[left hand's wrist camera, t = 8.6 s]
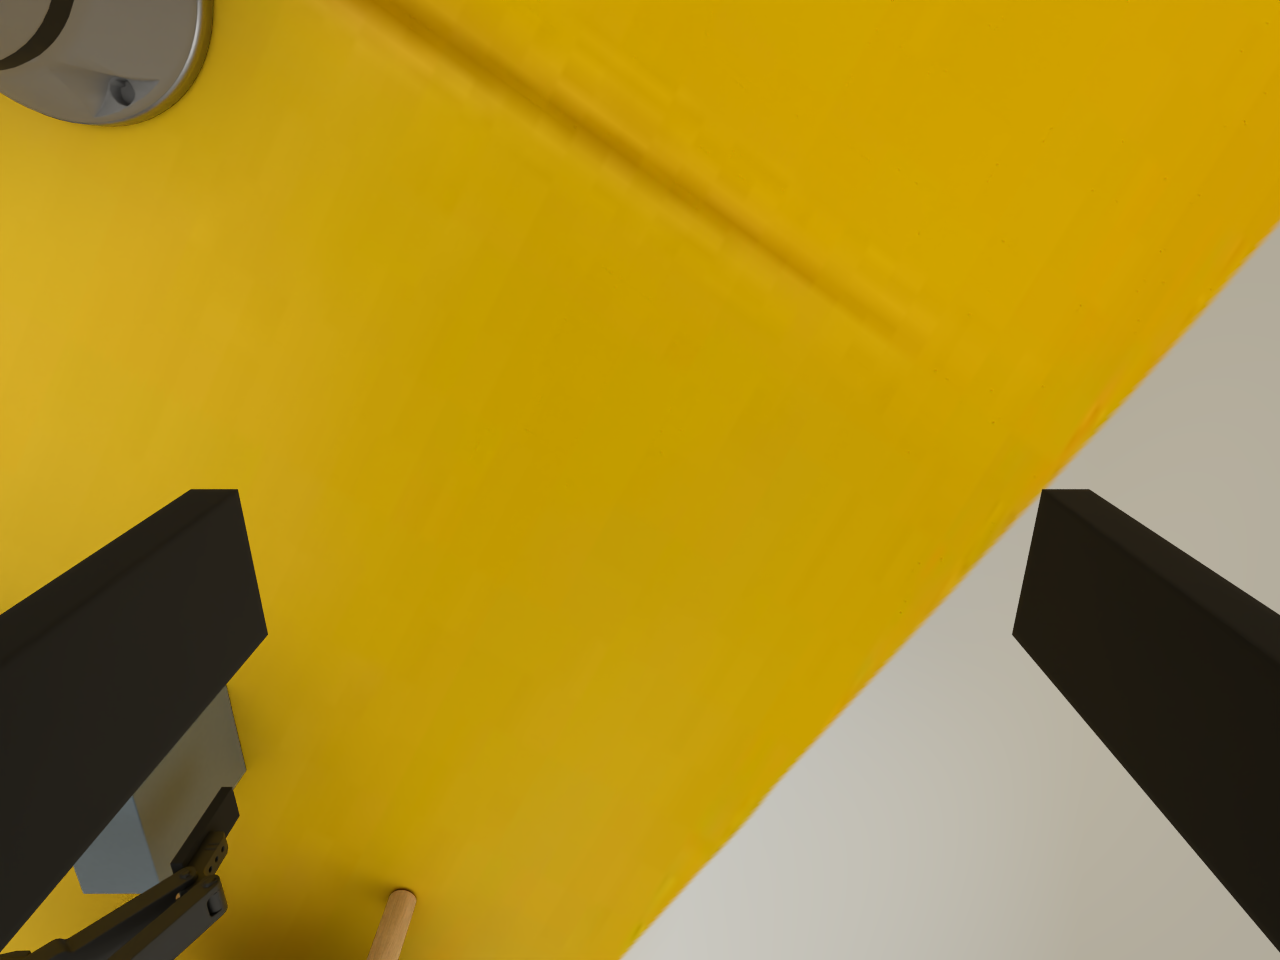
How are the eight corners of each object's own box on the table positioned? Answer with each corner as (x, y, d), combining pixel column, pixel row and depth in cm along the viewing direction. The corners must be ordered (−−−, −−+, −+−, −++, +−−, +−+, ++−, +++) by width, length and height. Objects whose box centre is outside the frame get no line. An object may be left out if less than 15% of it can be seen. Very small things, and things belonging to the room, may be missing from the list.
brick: (181, 770, 63) (82, 894, 52) (157, 684, 60) (47, 796, 49) (246, 770, 63) (162, 894, 52) (226, 684, 60) (132, 796, 49)
